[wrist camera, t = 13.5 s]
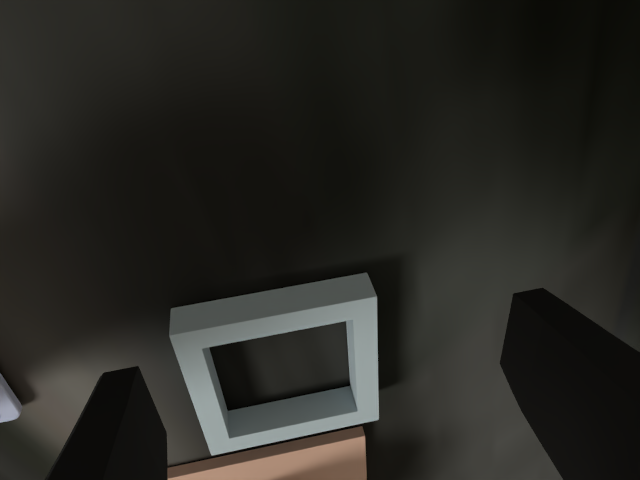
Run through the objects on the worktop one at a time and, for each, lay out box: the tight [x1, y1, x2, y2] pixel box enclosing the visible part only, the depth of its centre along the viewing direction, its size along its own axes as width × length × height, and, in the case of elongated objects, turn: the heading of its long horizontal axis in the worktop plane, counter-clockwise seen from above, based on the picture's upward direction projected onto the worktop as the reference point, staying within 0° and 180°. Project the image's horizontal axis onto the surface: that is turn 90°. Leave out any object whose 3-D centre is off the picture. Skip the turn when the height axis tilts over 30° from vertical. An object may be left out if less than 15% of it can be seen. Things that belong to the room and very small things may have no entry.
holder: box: [169, 273, 379, 455], centre depth 23 cm, size 8×8×2 cm
